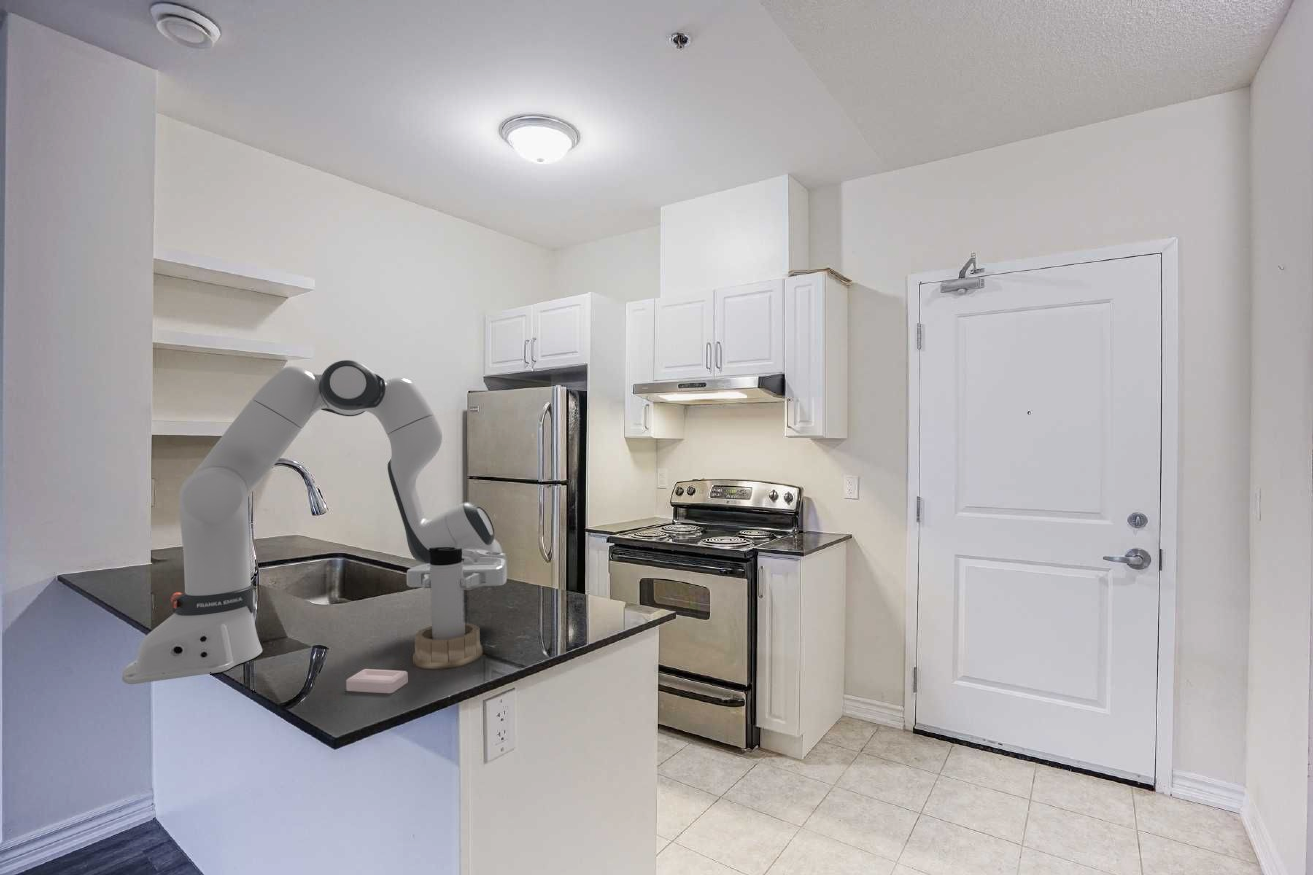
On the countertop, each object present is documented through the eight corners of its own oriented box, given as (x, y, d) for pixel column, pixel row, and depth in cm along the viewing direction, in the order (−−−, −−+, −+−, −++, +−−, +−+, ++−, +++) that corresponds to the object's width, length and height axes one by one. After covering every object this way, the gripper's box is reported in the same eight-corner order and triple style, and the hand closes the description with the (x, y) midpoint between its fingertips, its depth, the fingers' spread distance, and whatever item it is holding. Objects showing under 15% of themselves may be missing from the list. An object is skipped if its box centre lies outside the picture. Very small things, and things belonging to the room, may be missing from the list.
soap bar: (391, 695, 112) (391, 681, 112) (344, 692, 113) (344, 678, 113) (409, 683, 117) (409, 669, 117) (364, 680, 119) (363, 667, 119)
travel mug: (424, 647, 128) (420, 547, 128) (452, 637, 134) (448, 541, 133) (444, 653, 125) (441, 550, 124) (472, 642, 130) (468, 544, 130)
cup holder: (422, 674, 120) (421, 647, 120) (406, 654, 131) (405, 629, 131) (491, 658, 127) (490, 633, 127) (470, 641, 138) (470, 617, 138)
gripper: (420, 554, 142) (392, 569, 128) (512, 552, 141) (495, 567, 128) (421, 583, 142) (394, 600, 128) (513, 581, 142) (496, 598, 128)
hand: (445, 584), depth 128 cm, fingers closed on travel mug, 6 cm apart
